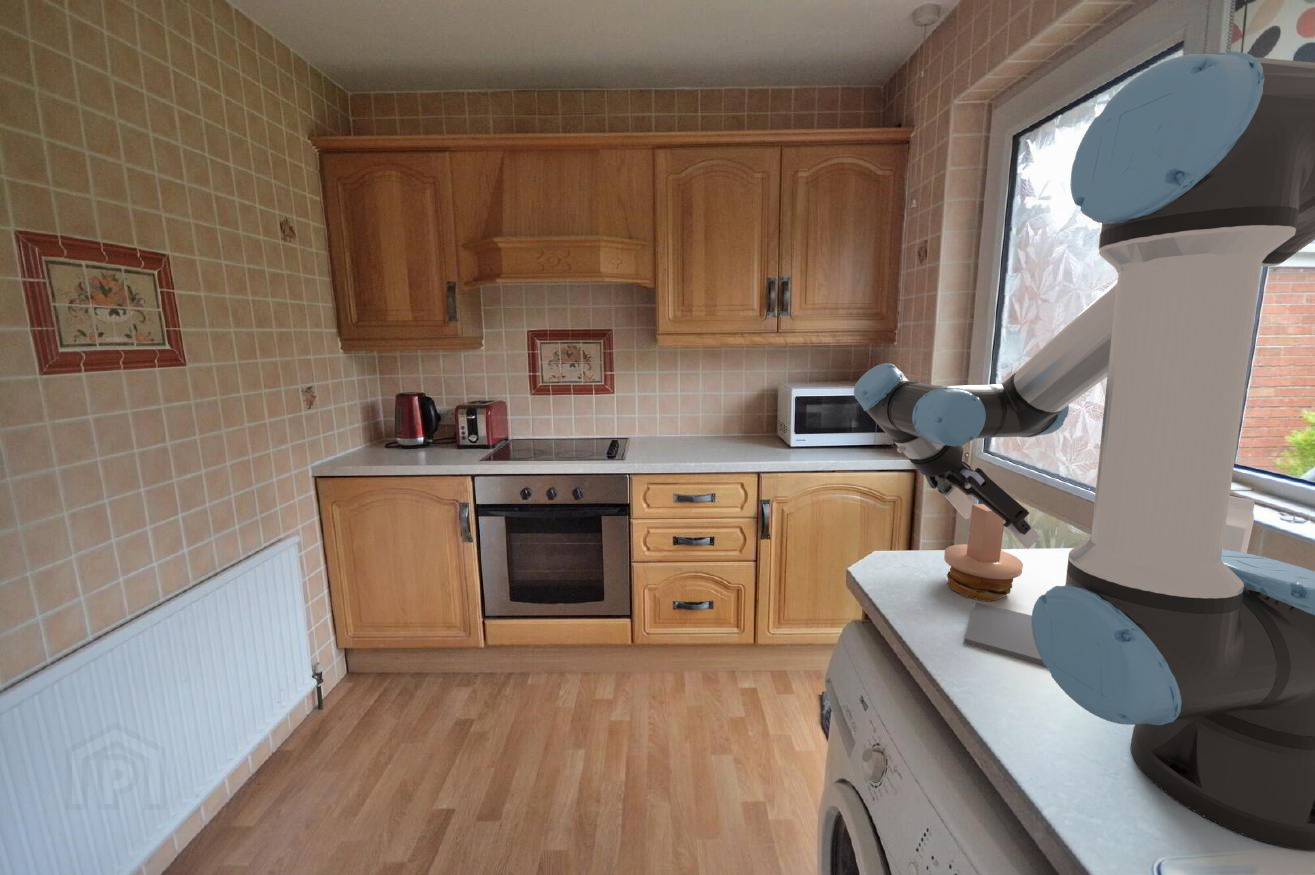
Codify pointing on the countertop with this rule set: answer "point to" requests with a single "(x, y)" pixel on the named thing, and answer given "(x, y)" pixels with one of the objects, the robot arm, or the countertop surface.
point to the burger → (978, 586)
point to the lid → (984, 548)
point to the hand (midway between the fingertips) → (999, 527)
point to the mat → (1002, 632)
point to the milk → (1238, 524)
